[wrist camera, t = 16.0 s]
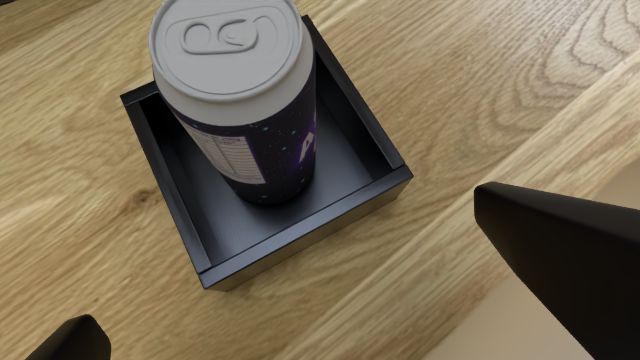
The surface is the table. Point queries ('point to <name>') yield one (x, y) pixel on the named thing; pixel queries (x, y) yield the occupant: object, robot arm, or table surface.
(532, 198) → the robot arm
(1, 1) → the speaker
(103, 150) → the table surface
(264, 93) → the beverage can
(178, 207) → the black open tray
